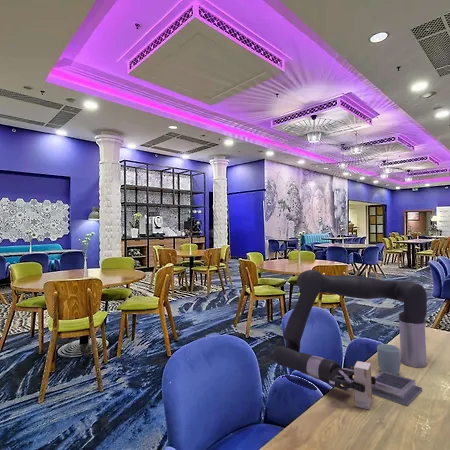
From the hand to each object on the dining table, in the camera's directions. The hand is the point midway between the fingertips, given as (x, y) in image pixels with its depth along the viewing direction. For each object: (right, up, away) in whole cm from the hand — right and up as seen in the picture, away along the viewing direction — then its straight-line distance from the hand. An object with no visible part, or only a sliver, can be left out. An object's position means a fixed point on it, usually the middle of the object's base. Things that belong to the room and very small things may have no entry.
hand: (370, 384), depth 100 cm
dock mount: (+12, -7, +9) cm, 16 cm away
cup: (+18, -7, +22) cm, 29 cm away
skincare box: (-1, -7, +1) cm, 7 cm away
